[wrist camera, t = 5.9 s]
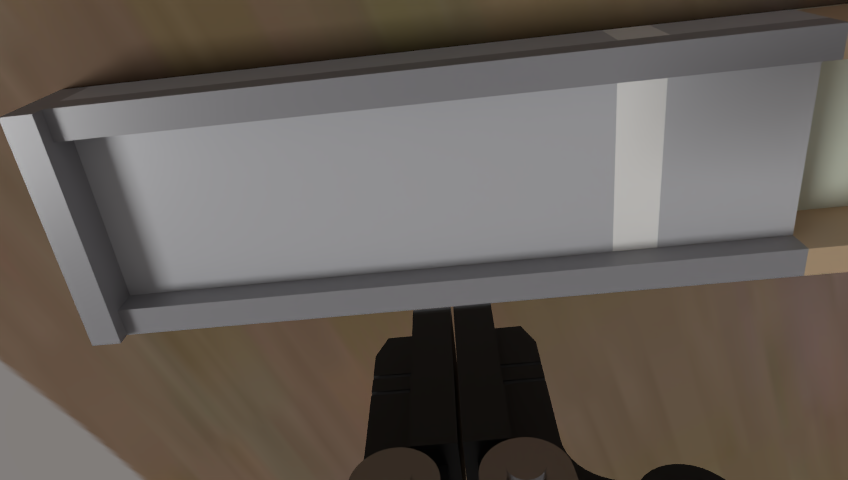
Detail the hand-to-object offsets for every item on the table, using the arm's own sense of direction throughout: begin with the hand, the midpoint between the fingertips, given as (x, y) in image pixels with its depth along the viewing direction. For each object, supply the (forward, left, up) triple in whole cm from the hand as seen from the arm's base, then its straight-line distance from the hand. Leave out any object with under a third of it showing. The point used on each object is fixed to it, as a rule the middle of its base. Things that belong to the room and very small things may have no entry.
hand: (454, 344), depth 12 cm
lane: (0, +5, -11) cm, 12 cm away
